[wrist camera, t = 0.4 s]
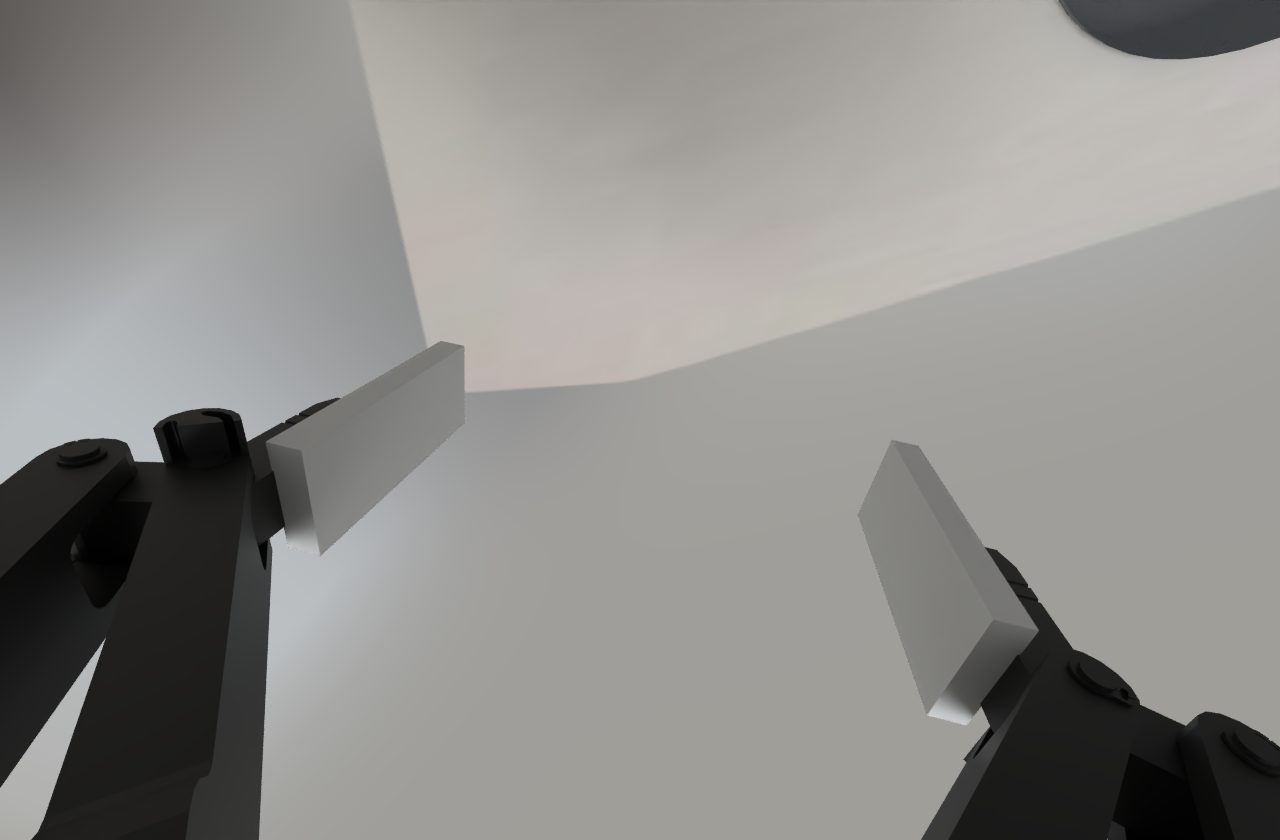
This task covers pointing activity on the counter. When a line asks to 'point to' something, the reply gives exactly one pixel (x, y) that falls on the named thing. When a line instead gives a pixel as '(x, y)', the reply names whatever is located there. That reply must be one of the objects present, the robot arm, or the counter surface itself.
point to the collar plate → (1177, 25)
